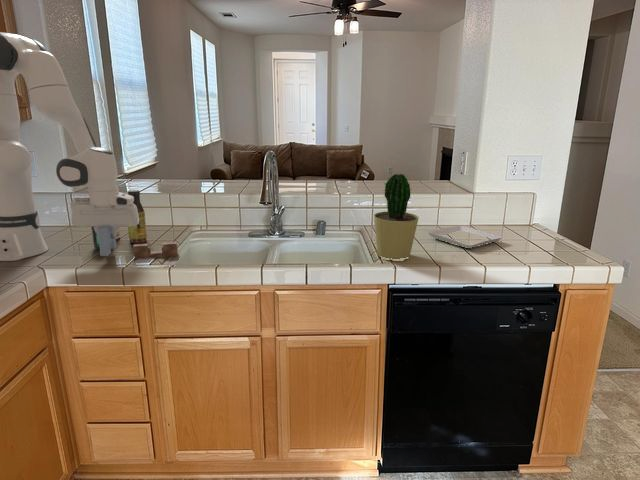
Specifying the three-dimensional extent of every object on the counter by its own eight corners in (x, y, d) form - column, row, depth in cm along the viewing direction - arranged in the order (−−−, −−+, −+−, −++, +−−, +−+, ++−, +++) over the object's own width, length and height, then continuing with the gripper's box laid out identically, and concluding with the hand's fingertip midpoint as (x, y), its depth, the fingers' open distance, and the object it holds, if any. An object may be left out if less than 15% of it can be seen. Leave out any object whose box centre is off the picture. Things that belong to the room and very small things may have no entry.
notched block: (134, 259, 147) (133, 246, 146) (135, 256, 149) (134, 244, 148) (177, 255, 151) (176, 243, 150) (177, 253, 153) (176, 241, 152)
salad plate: (502, 244, 171) (503, 236, 170) (469, 253, 160) (470, 244, 159) (458, 232, 188) (459, 224, 187) (425, 239, 176) (426, 231, 175)
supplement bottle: (102, 252, 154) (97, 219, 150) (90, 249, 157) (85, 217, 153) (118, 247, 159) (115, 215, 156) (106, 244, 162) (102, 213, 159)
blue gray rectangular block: (100, 255, 140) (97, 229, 138) (109, 245, 152) (107, 220, 149) (108, 255, 141) (106, 229, 139) (116, 245, 152) (114, 220, 150)
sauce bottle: (141, 244, 163) (135, 192, 157) (126, 243, 164) (120, 191, 158) (150, 239, 169) (145, 189, 163) (136, 238, 170) (130, 188, 164)
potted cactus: (410, 250, 161) (417, 169, 153) (419, 264, 147) (427, 175, 138) (369, 249, 161) (373, 168, 153) (374, 263, 147) (378, 175, 138)
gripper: (66, 199, 136) (70, 241, 140) (135, 200, 141) (138, 240, 145) (72, 196, 142) (76, 236, 146) (138, 196, 147) (141, 236, 150)
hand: (107, 238), depth 145 cm, fingers closed on blue gray rectangular block, 2 cm apart
